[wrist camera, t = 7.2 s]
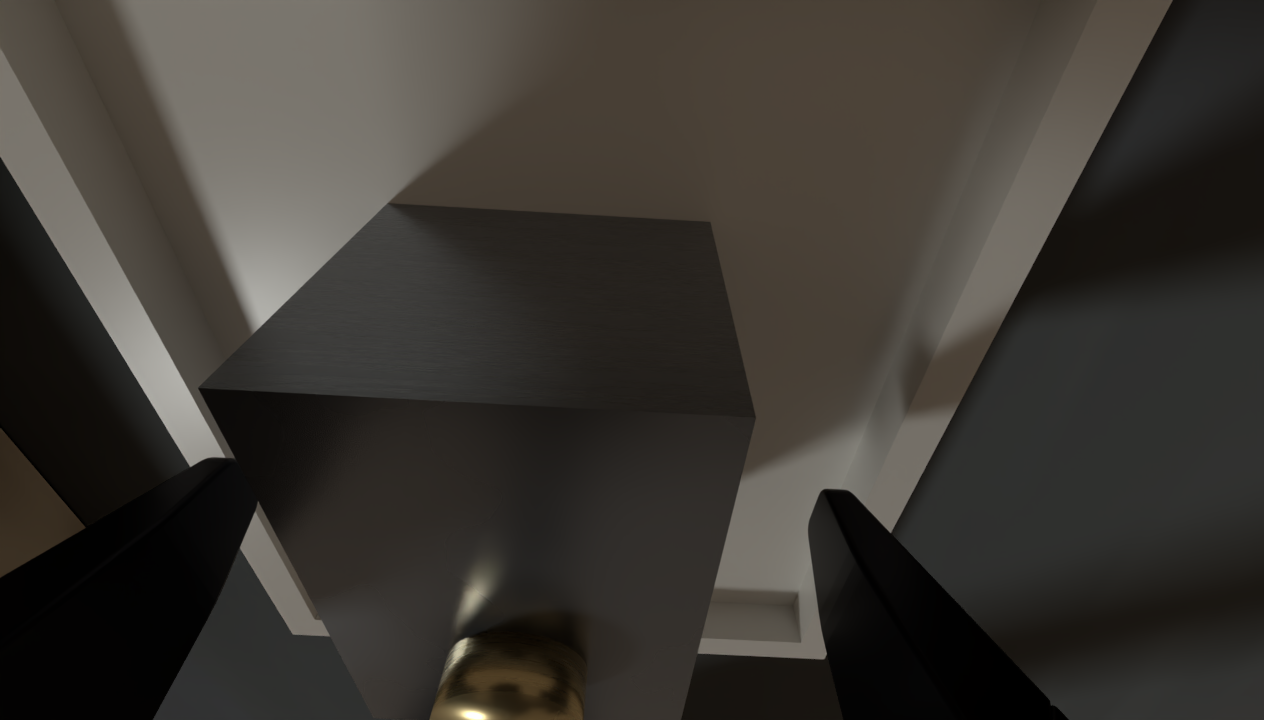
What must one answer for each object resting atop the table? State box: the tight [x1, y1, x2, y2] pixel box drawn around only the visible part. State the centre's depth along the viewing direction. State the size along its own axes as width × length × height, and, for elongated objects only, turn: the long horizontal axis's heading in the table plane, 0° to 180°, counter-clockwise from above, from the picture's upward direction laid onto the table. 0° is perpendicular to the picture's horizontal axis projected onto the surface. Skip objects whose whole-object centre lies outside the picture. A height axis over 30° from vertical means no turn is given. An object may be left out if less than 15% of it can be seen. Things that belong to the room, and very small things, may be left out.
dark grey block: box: [198, 203, 756, 720], centre depth 9 cm, size 7×5×5 cm
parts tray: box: [0, 0, 1173, 659], centre depth 10 cm, size 16×14×2 cm
